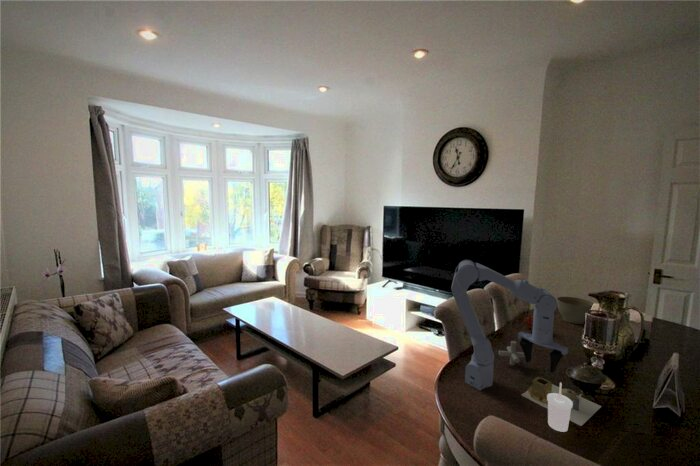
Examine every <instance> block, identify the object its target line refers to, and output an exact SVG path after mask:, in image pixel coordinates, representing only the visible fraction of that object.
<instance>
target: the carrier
mask: <svg viewBox="0 0 700 466" xmlns="http://www.w3.org/2000/svg"><path fill="white" fill-rule="evenodd" d="M559 387H560V386H557V385H556V384H554V383H552V392H553V393H558V394H559ZM561 394H562V395H564V396H566V397H568V398H569V399H570V400H571V401H572V402H573V406H572V408H571V413H570V419H569V422H572V423H574V424H576V425H577V426H580V427H582V426H583V425H584V424H585V423H586V422H587V421H588V420H589V419H591V417H592V416H594V414H596V412H598V411H599V410H600V409H601V408H602V405H600V404H597V403H596V402H592V401H590V400H588V399H586V398H584V397H582V396H579V395H577V392H576V391H574V390H572V389H569V388H561ZM521 396H522V397H523V398H526V399H528V400H530V401H531V402H534V403H535V404H537V405H539V406H541V407H542V408H543V407H544V408H545V409H547V410H548V403H542V401H537V400H535V399H533V397H530V395H529V393H528V390H526V391H525V392H523V393H521Z"/></svg>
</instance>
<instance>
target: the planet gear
mask: <svg viewBox="0 0 700 466" xmlns="http://www.w3.org/2000/svg"><path fill="white" fill-rule="evenodd" d="M531 384H532V385H531V386H529V387H528V389H527V391H528V393H529V395H530V397H533V399H535V400H537V401H542V403H548V401H547V395H548V394H549V393H553V392H552V384H553V383H552V381H550V380H548V379H545V378H543V377H541V376H537V377H535V378H533V379H532V381H531Z"/></svg>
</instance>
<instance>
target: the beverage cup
mask: <svg viewBox="0 0 700 466" xmlns="http://www.w3.org/2000/svg"><path fill="white" fill-rule="evenodd" d="M562 386H563V384H562V382H561V381H560V382H559V386H558V387H559V394H558V393H549V394H548V395H547V401H548V409H547V423H548V426H549V427H550V428H551V429H553V430H554V431H557V432H561V433H562V432H563V433H565V432H568V430H569V424H570V420H569V419H570V413H571V408H572V406H573V402H572V401H571V400H570V399H569V398H568V397H566V396H564V395H562V394H561V388H562ZM562 389H563V388H562Z"/></svg>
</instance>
